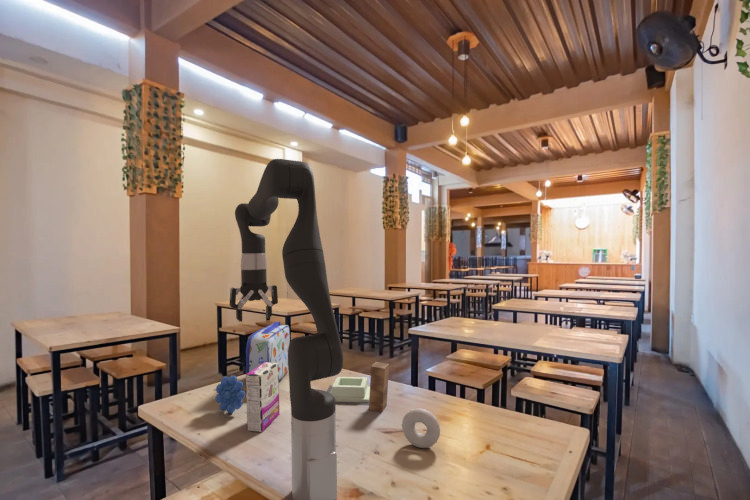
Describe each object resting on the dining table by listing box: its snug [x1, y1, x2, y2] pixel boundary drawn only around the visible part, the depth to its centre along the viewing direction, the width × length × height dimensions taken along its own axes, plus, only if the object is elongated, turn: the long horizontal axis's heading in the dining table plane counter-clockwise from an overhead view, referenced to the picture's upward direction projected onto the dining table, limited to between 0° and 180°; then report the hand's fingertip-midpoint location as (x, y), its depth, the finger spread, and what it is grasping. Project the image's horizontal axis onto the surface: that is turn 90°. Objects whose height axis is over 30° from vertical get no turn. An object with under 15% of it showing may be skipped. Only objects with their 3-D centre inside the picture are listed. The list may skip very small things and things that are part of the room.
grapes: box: [215, 375, 246, 414], centre depth 117 cm, size 12×7×12 cm, turn 66°
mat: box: [326, 384, 369, 406], centre depth 128 cm, size 18×16×1 cm
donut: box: [401, 407, 441, 449], centre depth 95 cm, size 10×4×10 cm, turn 69°
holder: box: [330, 376, 370, 403], centre depth 128 cm, size 14×12×4 cm
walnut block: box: [368, 361, 390, 413], centre depth 117 cm, size 4×4×14 cm
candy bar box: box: [245, 362, 281, 433], centre depth 109 cm, size 11×5×16 cm, turn 168°
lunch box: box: [244, 321, 291, 385], centre depth 143 cm, size 28×10×22 cm, turn 176°
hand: (254, 319), depth 115 cm, fingers open, 8 cm apart
